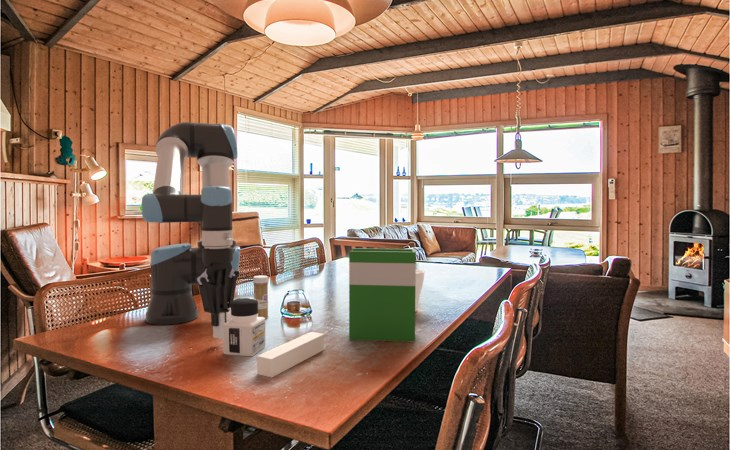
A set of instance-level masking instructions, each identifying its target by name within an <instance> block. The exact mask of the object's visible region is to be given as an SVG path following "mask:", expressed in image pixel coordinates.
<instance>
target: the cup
mask: <svg viewBox="0 0 730 450" xmlns="http://www.w3.org/2000/svg"><path fill="white" fill-rule="evenodd" d="M424 278H425V271H424V270H422V269H416V282H415V313H416V312H417V311H418V308H419V307H418V306H419V302H420V301H419V300H420V297H421V292H422V289H423V285H424V280H425V279H424Z"/></svg>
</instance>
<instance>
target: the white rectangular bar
mask: <svg viewBox="0 0 730 450" xmlns="http://www.w3.org/2000/svg"><path fill="white" fill-rule="evenodd" d="M324 350H325V333H321V332H316V331H315V332H314V331H310V332H307V333H305V334H303V335H301V336H299V337H297V338H293V339H292V340H289V341H287V342H286V343H283V344H281V345H279V346H276V347H273V348H272V349H269V350H268V351H265V352H263V353H260V354H258V355H256V368H257V369H256V371H257V372H256V374H257V375H260V376H264V377H267V378H274V377H276V376H278V375H279V374H282V373H283V372H285V371H287V370H289V369H291V368H292V367H294V366H296V365H298V364H300V363H302V362H304V361H305V360H307V359H310V358H312V357H313V356H315V355H317V354H319V353H321V352H323V351H324Z"/></svg>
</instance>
